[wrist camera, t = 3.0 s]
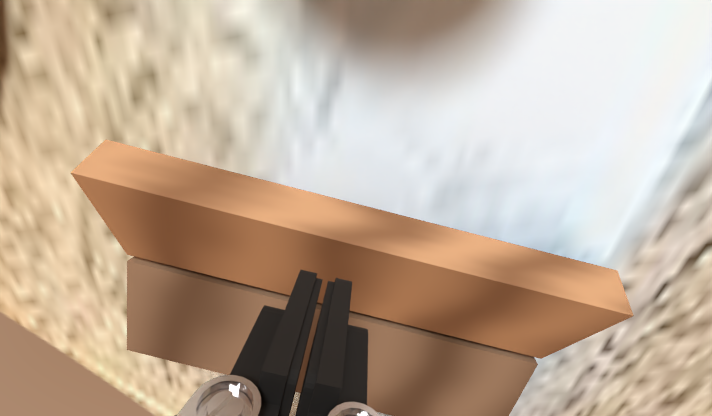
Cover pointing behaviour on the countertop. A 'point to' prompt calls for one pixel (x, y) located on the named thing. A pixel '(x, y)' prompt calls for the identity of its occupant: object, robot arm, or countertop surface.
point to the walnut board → (385, 342)
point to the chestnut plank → (348, 252)
